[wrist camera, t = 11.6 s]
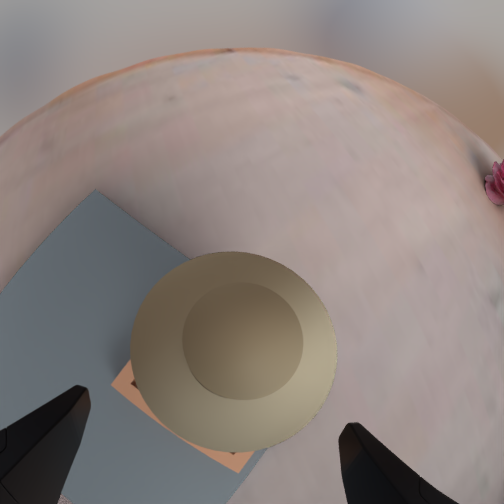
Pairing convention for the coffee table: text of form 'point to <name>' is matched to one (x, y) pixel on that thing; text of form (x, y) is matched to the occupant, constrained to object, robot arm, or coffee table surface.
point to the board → (102, 361)
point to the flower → (496, 184)
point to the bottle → (233, 352)
